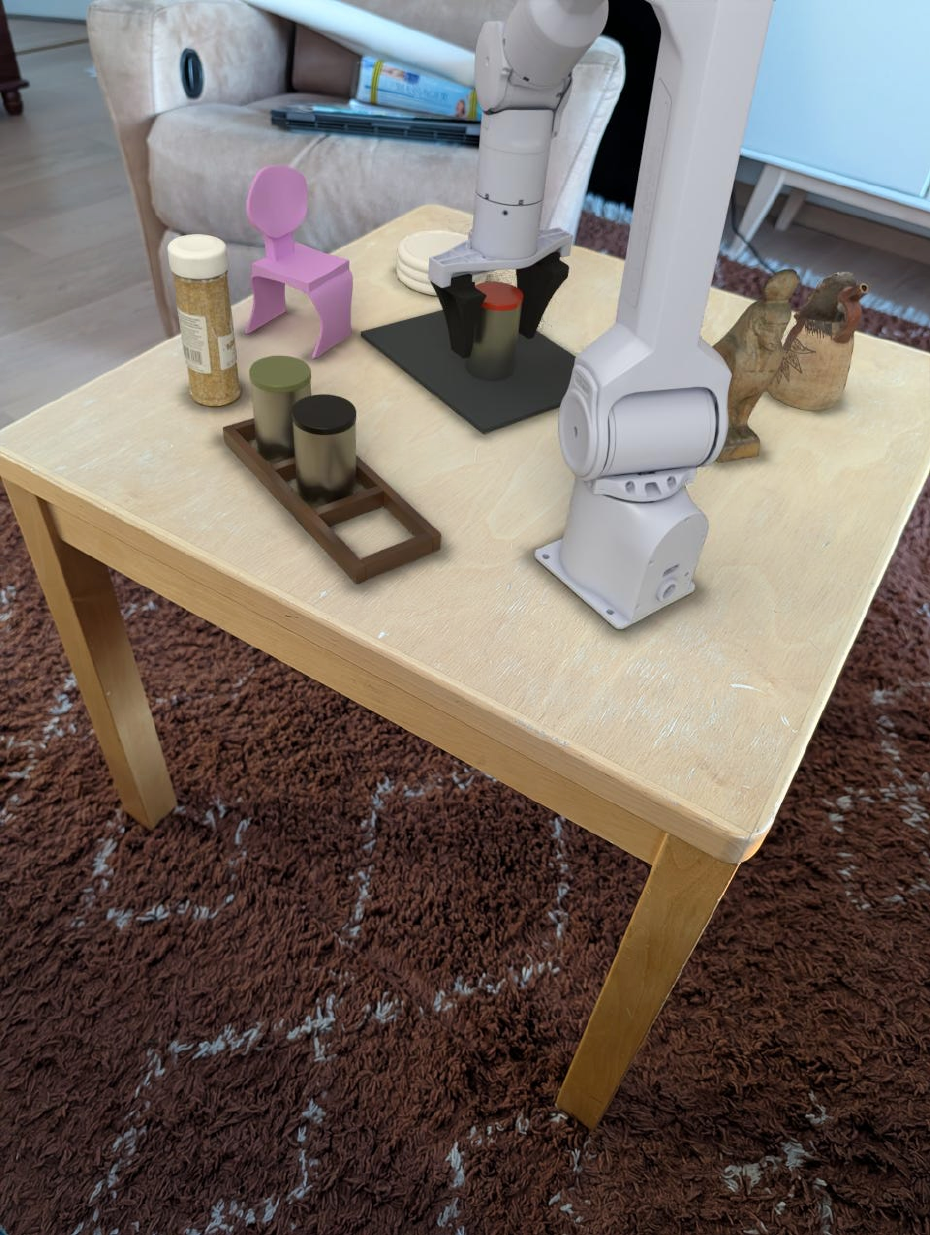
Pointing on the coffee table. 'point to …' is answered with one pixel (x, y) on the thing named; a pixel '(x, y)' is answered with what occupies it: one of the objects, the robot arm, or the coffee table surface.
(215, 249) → the sprinkles bottle
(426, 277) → the cream round stack
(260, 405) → the herb tin
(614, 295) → the coffee table surface
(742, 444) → the brown carved statuette
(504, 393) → the mat
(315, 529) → the spice rack
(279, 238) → the toy chair
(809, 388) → the figurine
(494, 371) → the paprika tin
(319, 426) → the cylinder
